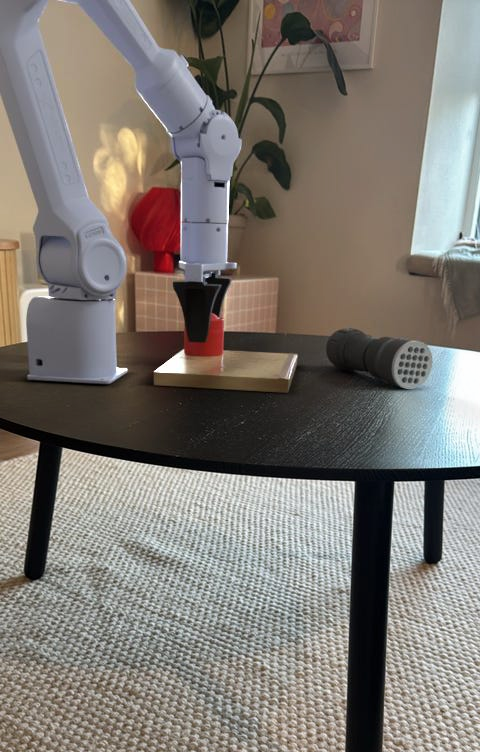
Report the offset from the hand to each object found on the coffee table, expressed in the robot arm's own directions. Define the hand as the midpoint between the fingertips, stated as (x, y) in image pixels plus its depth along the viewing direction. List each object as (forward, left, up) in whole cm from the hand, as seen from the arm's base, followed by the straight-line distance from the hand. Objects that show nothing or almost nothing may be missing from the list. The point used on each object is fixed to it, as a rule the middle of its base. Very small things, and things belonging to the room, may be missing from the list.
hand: (202, 338), depth 96 cm
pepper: (0, 0, -2) cm, 2 cm away
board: (+5, -5, -3) cm, 8 cm away
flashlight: (+22, -2, -4) cm, 22 cm away
